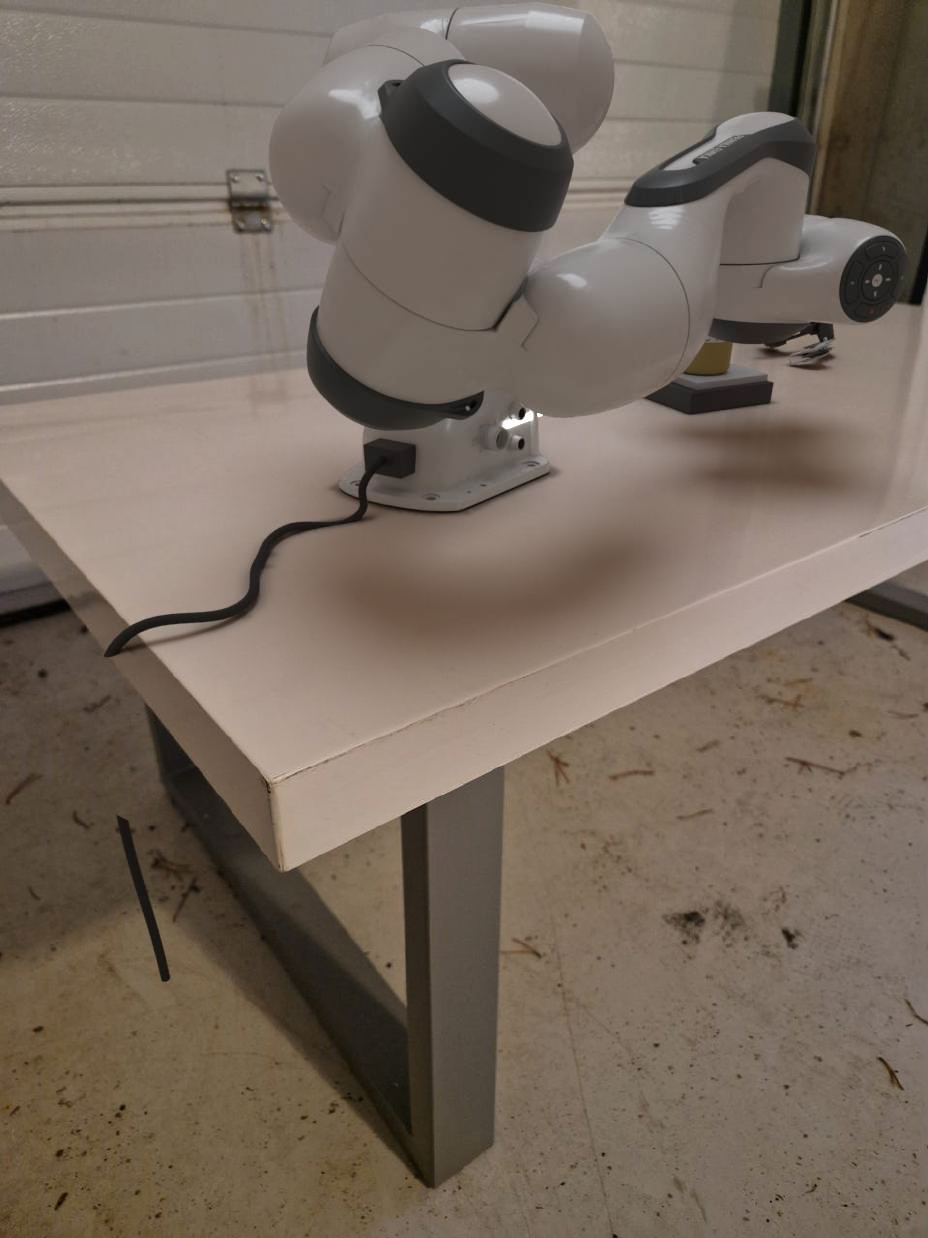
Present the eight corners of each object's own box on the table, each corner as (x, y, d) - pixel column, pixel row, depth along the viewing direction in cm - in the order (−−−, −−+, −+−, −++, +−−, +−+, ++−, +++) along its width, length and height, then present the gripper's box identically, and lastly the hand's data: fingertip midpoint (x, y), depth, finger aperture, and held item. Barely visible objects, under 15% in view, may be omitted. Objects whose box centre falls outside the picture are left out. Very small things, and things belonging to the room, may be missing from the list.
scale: (689, 414, 103) (692, 385, 101) (629, 391, 113) (631, 365, 112) (770, 402, 108) (775, 375, 106) (706, 382, 118) (709, 356, 116)
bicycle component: (830, 355, 122) (847, 343, 133) (820, 306, 120) (838, 298, 132) (749, 379, 129) (772, 365, 141) (738, 333, 128) (762, 323, 139)
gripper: (688, 297, 85) (647, 281, 97) (877, 292, 87) (813, 276, 99) (696, 229, 82) (652, 221, 94) (891, 225, 84) (824, 218, 96)
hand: (736, 249), depth 96 cm, fingers open, 8 cm apart
